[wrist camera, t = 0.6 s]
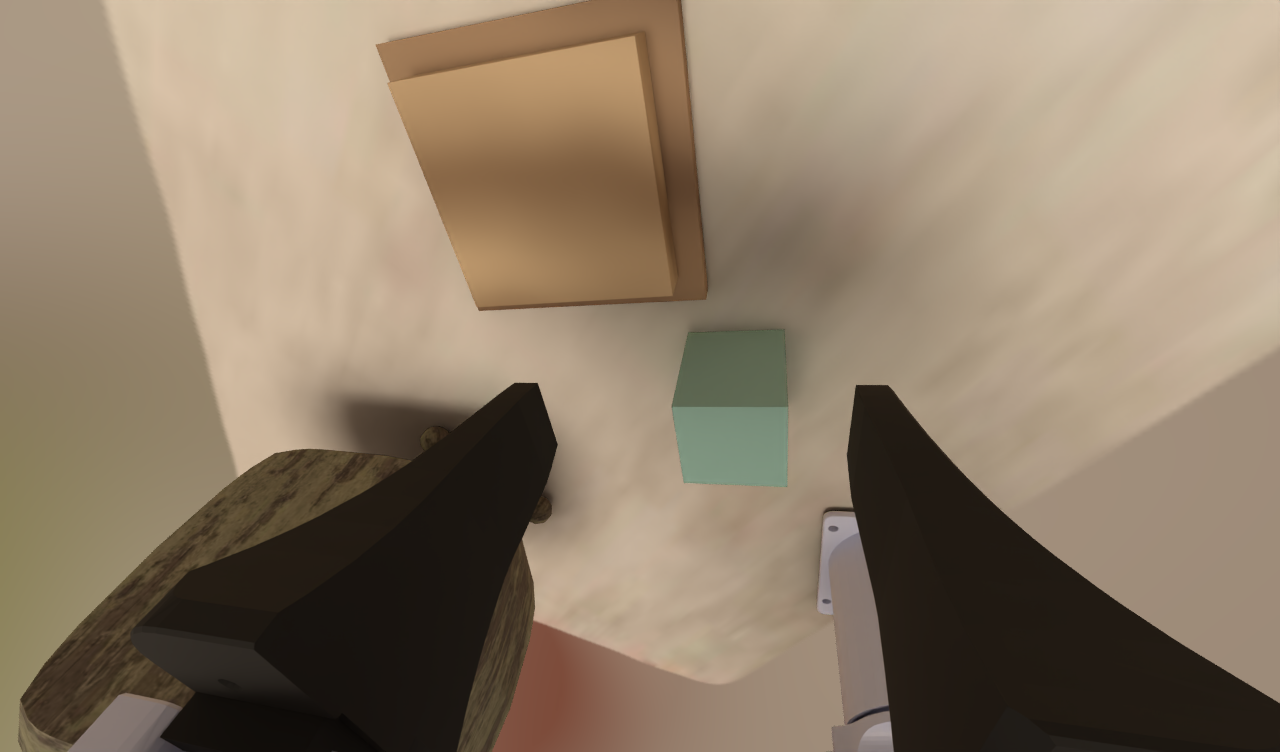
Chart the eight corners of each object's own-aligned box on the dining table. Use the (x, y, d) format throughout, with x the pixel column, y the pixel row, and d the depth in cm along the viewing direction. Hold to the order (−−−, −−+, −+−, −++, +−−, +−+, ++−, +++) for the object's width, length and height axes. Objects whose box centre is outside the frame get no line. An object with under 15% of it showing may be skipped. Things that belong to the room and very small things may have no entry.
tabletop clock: (368, 488, 35) (-141, 1142, 15) (314, 382, 29) (-596, 1196, 10) (576, 520, 32) (285, 1344, 13) (559, 411, 27) (4, 1569, 7)
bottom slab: (709, 282, 21) (705, 299, 20) (492, 294, 24) (479, 310, 23) (682, -18, 16) (675, -17, 14) (400, 40, 18) (375, 44, 17)
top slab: (678, 277, 20) (672, 296, 19) (492, 289, 22) (476, 307, 21) (644, 31, 15) (634, 35, 14) (413, 75, 17) (387, 82, 16)
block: (784, 403, 24) (787, 486, 20) (697, 403, 25) (683, 482, 21) (784, 328, 21) (787, 407, 17) (688, 332, 22) (671, 406, 18)
